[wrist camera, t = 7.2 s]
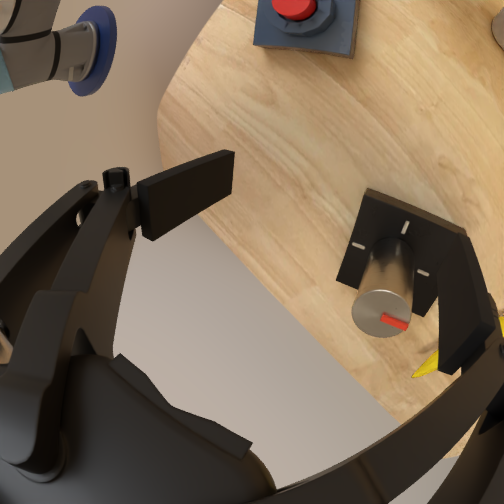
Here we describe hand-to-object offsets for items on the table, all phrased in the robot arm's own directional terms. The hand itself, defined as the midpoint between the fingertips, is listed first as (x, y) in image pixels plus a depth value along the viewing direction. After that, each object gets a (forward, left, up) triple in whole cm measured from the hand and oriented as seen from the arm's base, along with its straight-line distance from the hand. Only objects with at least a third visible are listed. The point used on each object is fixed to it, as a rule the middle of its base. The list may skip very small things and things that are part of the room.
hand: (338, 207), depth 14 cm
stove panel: (+6, -9, -15) cm, 19 cm away
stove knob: (+5, -9, -12) cm, 16 cm away
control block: (-9, +14, -15) cm, 22 cm away
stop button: (-9, +14, -11) cm, 20 cm away
